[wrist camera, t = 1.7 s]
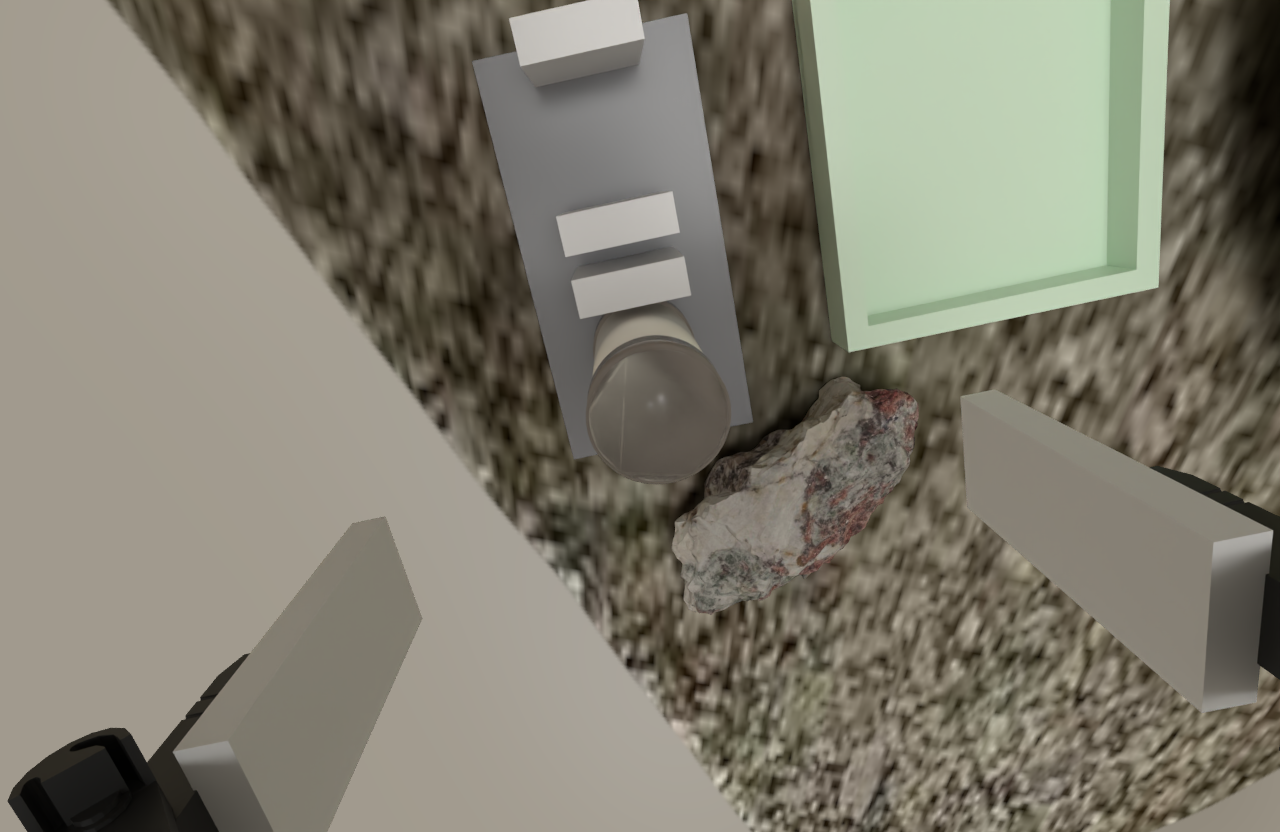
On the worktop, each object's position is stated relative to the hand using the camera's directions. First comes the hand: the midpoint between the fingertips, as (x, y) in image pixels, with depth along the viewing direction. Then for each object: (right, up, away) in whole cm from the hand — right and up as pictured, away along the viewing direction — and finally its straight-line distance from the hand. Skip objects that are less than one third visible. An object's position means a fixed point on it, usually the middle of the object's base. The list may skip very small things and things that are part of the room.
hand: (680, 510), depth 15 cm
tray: (+14, +15, +15) cm, 25 cm away
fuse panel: (-2, +9, +16) cm, 19 cm away
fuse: (-1, +6, +17) cm, 17 cm away
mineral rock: (+6, -2, +21) cm, 21 cm away
